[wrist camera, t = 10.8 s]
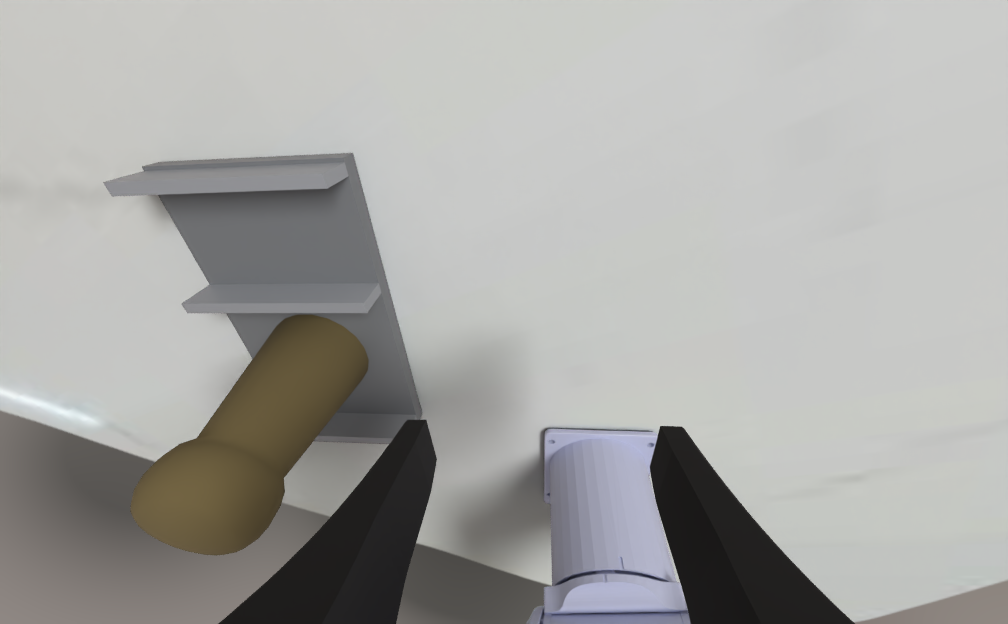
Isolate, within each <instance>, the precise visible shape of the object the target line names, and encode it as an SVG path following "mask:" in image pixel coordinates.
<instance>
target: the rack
mask: <svg viewBox="0 0 1008 624" xmlns="http://www.w3.org/2000/svg"><path fill="white" fill-rule="evenodd" d="M142 168H143V170H144V171H143V172H139V173H135V174H132V175H128V176H124V177H121V178H117V179H113V180H110V181H106V182H103V183H104V185H105V186H106V188H107V189H108V191H109V193H110V194H111V196H135V195H158V196H159V197H160V199H161V201H162V203H163V204H164V206H165V208H166V210H167V211H168V213H169V215H170V216H171V218H172V220H173V222H174V223H175V225H176V227H177V229H178V230H179V232H180V234H181V236H182V237H183V239H184V241H185V242H186V244H187V246H188V248H189V249H190V251H191V253H192V255H193V256H194V258H195V260H196V262H197V263H198V265H199V267H200V268H201V270H202V272H203V274H204V275H205V277H206V279H207V281H208V282H209V284H210V285H209V286H207V287H206V288H204V289H203V290H201V291H200V292H198V293H197V294H195V295H194V296H192V297H191V298H189V299H188V300H186V301H185V302H183V303H182V305H183V307H184V308H185V310H186V311H187V313H226V314H227V315H228V317H229V319H230V320H231V322H232V324H233V326H234V327H235V329H236V331H237V333H238V334H239V336H240V338H241V340H242V341H243V343H244V345H245V346H246V348H247V350H248V352H249V353H250V355H251V357H252V359H253V358H254V357H255V355H256V354H257V353H258V351H259V350H260V348H261V347H262V346H263V344H264V343H265V341H266V340H267V339H268V337H269V336H270V334H271V333H272V332H273V330H274V329H275V327H276V326H277V325H278V324H279V323H280V322H281V321H283V320H284V319H285V318H288V317H291V316H294V315H316V316H320V317H324V318H328V319H330V320H332V321H334V322H336V323H338V324H340V325H342V326H344V327H345V328H346V329H347V330H349V331H350V332H351V333H352V334H353V335H355V336H356V337H357V339H358V340H359V341H360V343H361V344H362V345H363V347H364V348H365V351H366V353H367V356H368V359H369V363H368V371H367V373H366V374H365V376H364V378H363V379H362V381H361V382H360V383H359V384H358V386H357V387H356V388H355V389H354V391H353V392H352V393H351V394H350V396H349V397H348V398H347V399H346V401H345V402H344V403H343V404H342V406H341V407H340V408H339V409H338V411H337V412H336V413H335V414H334V416H333V417H332V418H331V419H330V421H329V422H328V423H327V425H326V426H325V427H324V428H323V430H322V431H321V432H320V433H319V435H318V436H317V437H316V438H315V440H314V441H323V442H350V443H377V444H390V443H391V441H392V440H393V438H394V437H395V436H396V434H397V433H398V431H399V430H400V428H401V427H402V426H403V424H404V423H405V421H407V420H420V418H421V416H422V411H421V407H420V403H419V399H418V396H417V392H416V388H415V384H414V381H413V377H412V373H411V369H410V366H409V362H408V358H407V354H406V351H405V347H404V343H403V339H402V336H401V332H400V328H399V324H398V321H397V317H396V313H395V309H394V306H393V302H392V298H391V294H390V291H389V287H388V283H387V279H386V276H385V272H384V268H383V264H382V261H381V257H380V253H379V249H378V246H377V242H376V238H375V234H374V231H373V227H372V223H371V219H370V216H369V212H368V208H367V204H366V201H365V197H364V193H363V189H362V186H361V182H360V178H359V174H358V171H357V167H356V163H355V159H354V156H353V153H343V154H321V155H300V156H278V157H256V158H234V159H212V160H191V161H169V162H158V163H154V164H150V165H146V166H142Z"/></svg>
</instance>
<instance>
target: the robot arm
mask: <svg viewBox="0 0 1008 624" xmlns="http://www.w3.org/2000/svg"><path fill="white" fill-rule="evenodd" d="M436 460H437V458H436V455H435V451H434V447H433V443H432V440H431V436H430V432H429V429H428V425H427V421H426V420H407V421H405V423H404V424H403V426H402V427H401V428H400V430H399V431H398V433H397V434H396V436H395V437H394V438H393V440H392V441H391V443H390V444H389V445H388V447H387V448H386V449H385V451H384V452H383V454H382V455H381V456H380V458H379V459H378V460H377V462H376V463H375V464H374V465H373V467H372V468H371V469H370V471H369V472H368V473H367V474H366V476H365V477H364V478H363V480H362V481H361V482H360V483H359V485H358V486H357V487H356V488H355V489H354V491H353V492H352V493H351V494H350V495H349V497H348V498H347V499H346V500H345V501H344V502H343V504H342V505H341V506H340V507H339V508H338V510H337V511H336V512H335V513H334V514H333V515H332V516H331V517H330V519H329V520H328V521H327V522H326V523H325V524H324V525H323V526H322V527H321V529H320V530H319V531H318V532H317V533H316V534H315V535H314V536H313V537H312V538H311V539H310V540H309V541H308V542H307V543H306V544H305V545H304V546H303V547H302V548H301V549H300V550H299V551H298V552H297V553H296V554H295V555H294V556H293V557H292V558H291V559H290V560H289V561H288V562H287V563H286V564H285V565H284V566H283V567H282V568H281V569H280V570H279V571H278V572H277V573H276V574H274V575H273V576H272V577H271V578H270V579H269V580H268V581H267V582H266V583H265V584H264V585H262V586H261V587H260V588H259V589H258V590H257V591H256V592H255V593H253V594H252V595H251V596H250V597H249V598H248V599H247V600H245V601H244V602H243V603H242V604H241V605H240V606H239V607H237V608H236V609H235V610H234V611H233V612H232V613H230V614H229V615H228V616H227V617H226V618H225V619H224V620H222V621H221V622H220V623H219V624H396V621H397V615H398V611H399V606H400V602H401V597H402V591H403V587H404V583H405V579H406V575H407V571H408V567H409V564H410V561H411V557H412V554H413V551H414V547H415V544H416V541H417V537H418V534H419V531H420V527H421V524H422V520H423V517H424V514H425V510H426V507H427V503H428V500H429V496H430V493H431V488H432V483H433V478H434V472H435V466H436ZM650 472H651V478H652V483H653V489H654V493H653V489H652V486H651V482H650V478H649V474H650ZM654 494H655V497H654ZM655 499H656V501H655ZM544 502H546V503H547V504H550V509H551V555H552V586H550V587H545V588H544V606H539V607H536V608H535V609H534V610H533V612H532V614H531V617H530V618H529V620H528V621H527V623H526V624H855V623H854V622H853V621H851V620H850V619H849V618H848V617H847V616H846V615H845V614H844V613H843V612H842V611H841V610H840V609H839V608H837V607H836V606H835V605H834V604H833V603H832V602H831V601H830V600H829V599H828V598H827V597H826V596H825V595H824V594H823V593H822V592H821V591H820V590H819V589H818V588H817V587H816V586H815V585H814V584H813V583H812V582H811V581H810V580H809V579H808V578H807V577H806V576H805V575H804V574H803V573H802V571H801V570H800V569H799V568H798V567H797V566H796V565H795V564H794V563H793V562H792V561H791V560H790V559H789V558H788V557H787V556H786V555H785V554H784V553H783V551H782V550H781V549H780V548H779V547H778V546H777V545H776V544H775V543H774V542H773V540H772V539H771V538H770V537H769V536H768V535H767V534H766V533H765V531H764V530H763V529H762V528H761V527H760V526H759V524H758V523H757V522H756V521H755V520H754V519H753V518H752V516H751V515H750V514H749V513H748V512H747V510H746V509H745V508H744V507H743V506H742V504H741V503H740V502H739V501H738V499H737V498H736V497H735V496H734V494H733V493H732V492H731V491H730V490H729V488H728V487H727V486H726V485H725V483H724V482H723V481H722V479H721V478H720V477H719V476H718V474H717V473H716V472H715V470H714V469H713V468H712V466H711V465H710V464H709V462H708V461H707V460H706V458H705V457H704V456H703V454H702V453H701V452H700V450H699V449H698V447H697V446H696V445H695V443H694V442H693V440H692V439H691V438H690V436H689V435H688V433H687V432H686V431H685V429H684V428H683V427H674V426H660V430H659V433H658V435H657V434H656V433H654V432H637V431H605V430H573V429H548V430H546V431H545V438H544ZM656 503H657V505H656ZM657 507H658V509H657ZM658 510H659V512H658ZM659 514H660V516H659ZM660 517H661V520H662V524H663V527H664V530H665V534H666V537H667V540H668V543H669V547H670V550H671V553H672V556H673V560H674V563H675V566H676V569H677V573H678V576H679V579H680V583H681V584H680V583H679V582H677V581H676V577H675V573H674V570H673V566H672V562H671V558H670V554H669V551H668V547H667V543H666V539H665V535H664V531H663V528H662V524H661V520H660ZM681 586H682V587H681ZM682 590H683V591H682ZM683 593H684V595H683ZM684 597H685V599H684ZM685 601H686V602H685ZM686 604H687V606H686ZM687 609H688V610H687ZM688 613H689V614H688Z"/></svg>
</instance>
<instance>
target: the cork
mask: <svg viewBox="0 0 1008 624" xmlns="http://www.w3.org/2000/svg"><path fill="white" fill-rule="evenodd" d="M368 363H369V359H368V356H367V353H366V351H365V348H364V347H363V345H362V344H361V343H360V341H359V340H358V339H357V337H356V336H355V335H353V334H352V333H351V332H350V331H349V330H347V329H346V328H345V327H344V326H342V325H340V324H338V323H336V322H334V321H332V320H330V319H328V318H324V317H320V316H316V315H294V316H291V317H288V318H285V319H284V320H283V321H281V322H280V323H279V324H278V325H277V326H276V327H275V329H274V330H273V332H272V333H271V334H270V336H269V337H268V339H267V340H266V341H265V343H264V344H263V346H262V347H261V348H260V350H259V351H258V353H257V354H256V355H255V357H254V358H253V360H252V361H251V363H250V364H249V365H248V367H247V368H246V370H245V371H244V372H243V374H242V375H241V377H240V378H239V379H238V381H237V382H236V384H235V385H234V386H233V388H232V389H231V391H230V392H229V393H228V395H227V396H226V398H225V399H224V401H223V402H222V403H221V405H220V406H219V408H218V409H217V410H216V412H215V413H214V415H213V416H212V417H211V419H210V420H209V422H208V423H207V424H206V426H205V427H204V429H203V430H202V432H201V433H200V434H199V436H198V437H197V438H196V439H193V440H190V441H187V442H184V443H181V444H179V445H178V446H176V447H175V448H173V449H172V450H170V451H169V452H168V453H166V454H165V455H163V456H162V457H161V458H160V459H159V460H157V461H156V462H155V463H154V464H153V465H152V466H151V467H150V468H149V469H148V470H147V471H146V472H145V473H144V474H143V476H142V478H141V479H140V481H139V482H138V484H137V486H136V488H135V489H134V493H133V498H132V502H131V513H132V516H133V518H134V519H135V521H136V523H137V524H138V526H139V527H140V528H142V529H143V530H144V531H145V532H146V533H148V534H149V535H151V536H152V537H154V538H156V539H158V540H159V541H161V542H164V543H166V544H168V545H170V546H173V547H176V548H179V549H182V550H185V551H189V552H194V553H200V554H205V555H224V554H229V553H234V552H237V551H240V550H242V549H244V548H245V547H247V546H248V545H250V544H251V543H253V542H254V541H255V540H257V539H258V538H259V537H260V536H261V535H262V534H263V532H264V531H265V530H266V529H267V528H268V527H269V525H270V523H271V522H272V520H273V518H274V516H275V515H276V513H277V511H278V509H279V508H280V506H281V503H282V499H283V496H284V493H285V488H284V477H285V476H286V475H287V473H288V472H289V471H290V470H291V468H292V467H293V466H294V465H295V463H296V462H297V461H298V460H299V458H300V457H301V456H302V455H303V453H304V452H305V451H306V450H307V448H308V447H309V446H310V445H311V443H312V442H313V441H314V440H315V438H316V437H317V436H318V435H319V433H320V432H321V431H322V430H323V428H324V427H325V426H326V425H327V423H328V422H329V421H330V419H331V418H332V417H333V416H334V414H335V413H336V412H337V411H338V409H339V408H340V407H341V406H342V404H343V403H344V402H345V401H346V399H347V398H348V397H349V396H350V394H351V393H352V392H353V391H354V389H355V388H356V387H357V386H358V384H359V383H360V382H361V381H362V379H363V378H364V376H365V374H366V373H367V371H368Z"/></svg>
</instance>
